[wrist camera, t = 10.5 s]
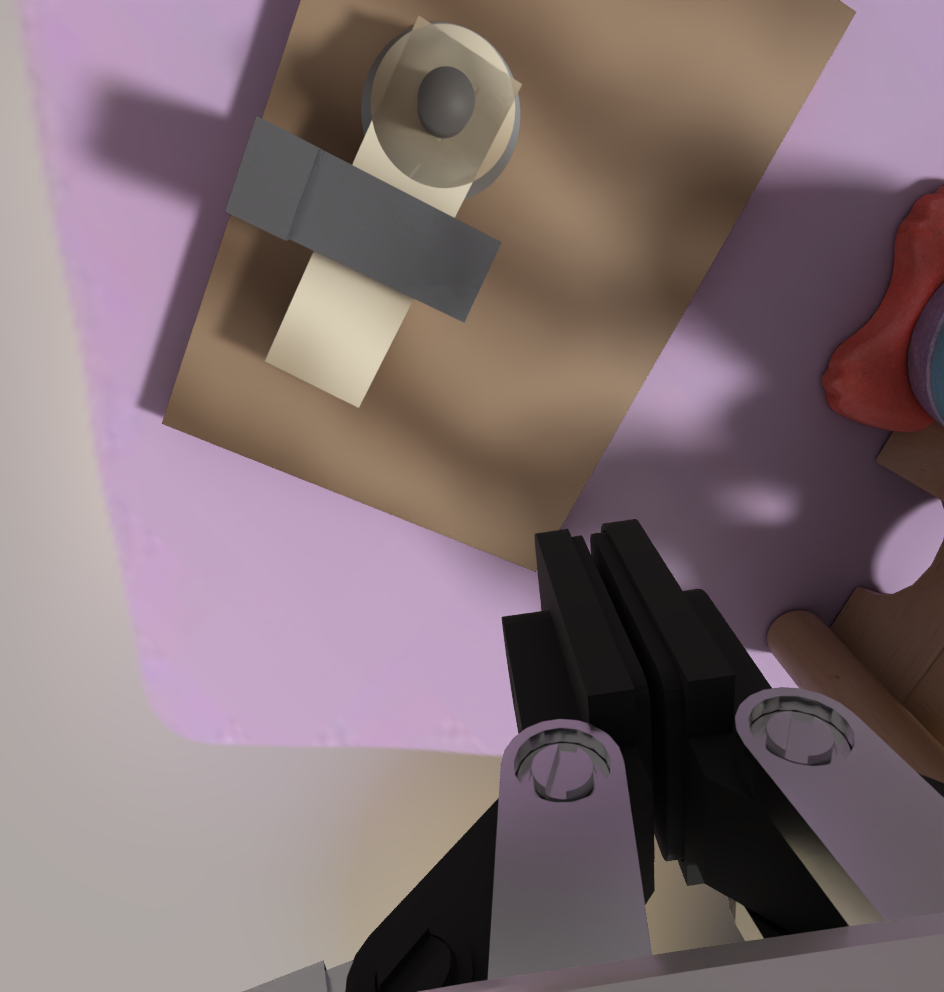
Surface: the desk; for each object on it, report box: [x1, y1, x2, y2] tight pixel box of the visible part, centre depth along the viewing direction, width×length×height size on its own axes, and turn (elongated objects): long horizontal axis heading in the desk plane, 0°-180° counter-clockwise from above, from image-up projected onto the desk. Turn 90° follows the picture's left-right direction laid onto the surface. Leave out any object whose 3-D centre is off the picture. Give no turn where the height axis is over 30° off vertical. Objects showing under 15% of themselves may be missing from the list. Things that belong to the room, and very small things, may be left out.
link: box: [265, 16, 522, 408], centre depth 25 cm, size 14×5×4 cm, turn 151°
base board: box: [162, 0, 856, 572], centre depth 29 cm, size 26×18×2 cm
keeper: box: [225, 116, 502, 323], centre depth 25 cm, size 3×8×6 cm, turn 64°
